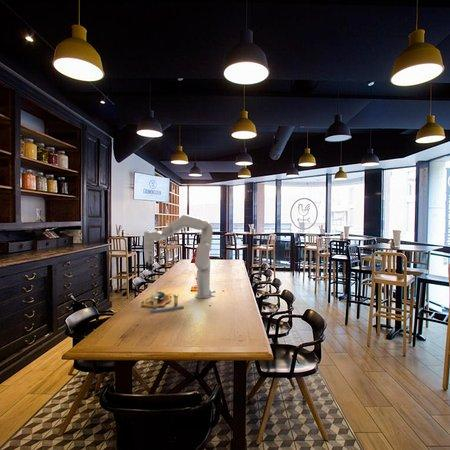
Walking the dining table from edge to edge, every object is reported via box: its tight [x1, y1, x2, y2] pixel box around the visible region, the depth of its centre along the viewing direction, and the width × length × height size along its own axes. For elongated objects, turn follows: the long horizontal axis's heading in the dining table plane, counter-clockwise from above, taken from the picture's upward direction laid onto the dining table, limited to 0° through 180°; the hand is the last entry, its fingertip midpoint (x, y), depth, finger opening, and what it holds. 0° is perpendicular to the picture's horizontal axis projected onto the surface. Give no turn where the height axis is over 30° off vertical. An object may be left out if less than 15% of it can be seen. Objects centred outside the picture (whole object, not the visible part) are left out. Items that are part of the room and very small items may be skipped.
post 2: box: [172, 293, 180, 306], centre depth 209 cm, size 4×4×9 cm
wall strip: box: [149, 304, 185, 314], centre depth 203 cm, size 22×3×2 cm, turn 118°
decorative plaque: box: [140, 291, 172, 309], centre depth 223 cm, size 30×7×20 cm
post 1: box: [152, 297, 158, 309], centre depth 202 cm, size 4×4×9 cm
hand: (148, 269), depth 243 cm, fingers open, 7 cm apart
